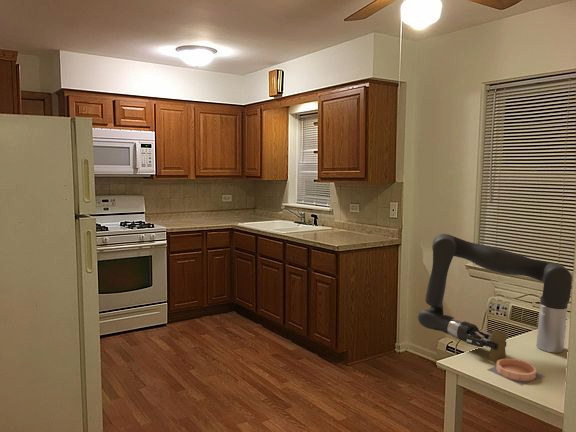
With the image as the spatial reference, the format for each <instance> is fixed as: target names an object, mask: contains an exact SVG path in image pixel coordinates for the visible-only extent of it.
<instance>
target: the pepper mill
mask: <svg viewBox="0 0 576 432" xmlns="http://www.w3.org/2000/svg"><path fill="white" fill-rule="evenodd" d="M491 337H492V339H493V340H492V342H494V343H497V344H498V350H495V349H492V348H489V349H490V350H489V355H488V360H490V361H491V362H493V363H495V364H497V361H498V360H500V359H507V356H506V355H507V351H506V347H505V341H506V342H507V339H508V335H507V333H506V332H505V331H502V330H496V329H495V330H493V331H492V334H491Z"/></svg>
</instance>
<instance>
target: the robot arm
mask: <svg viewBox="0 0 576 432" xmlns="http://www.w3.org/2000/svg"><path fill="white" fill-rule="evenodd" d="M431 248H432V266H431V267H432V268H431V272H430V276H429V280H428V283H427V288H426V293H425V300H424V301H425V303H426V304H427V305H429V306H430V308H429V309H423V310H421V311H419V312H418V315H417V321H418V322H419V324H420V325H421V326H422V327H424V328H426V329H428V330H433V331H439V332H443V333H444V334H447V335H450V336H451V337H453V338H455V339H457V340H460V341H463V342H465V343H466V344H468V345H472V346H476V347H479V348H489V349H491V348H492V349H495V350H498V344H497V343H494V342H492V340H493V339H492V337H491V334H492V332H493V331H492V330H487V332H486V331H484V330H479V327H478V326H477V325H476V324H474V323H472V322H469V321H466V320H463V319H460V318H455V317H454V316H451V315H448V314H444V305H443V301H444V297H445V293H446V286H447V277H448V273H449V270H450V269H449V268H450V265H451V263H452V260H453V258H454V257H457V258H461V259H464V260H467V261H469V262H471V263H473V264H475V265H477V266H479V267H480V268H483V269H486V270H488V271H491V272H495V273H497V274H503V275H509V276H511V275H512V276H522V277H528V278H531V279H534V280H537V281H540V282H543V288H542V289H543V290H542V295H541V296H540V301H539V311H538V312H539V314H538V321H537V322H538V324H537V335H536V346H535V347H537V348H538V349H539V350H542V351H544V352H546V353H547V352H548V353H552V354H553V353H554V354H555V353H556V354H557V353H558V354H559V353H562V352H564V349H565V340H566V329H567V315H568V313H567V312H568V304H569V302H570V299H571V295H572V294H571V293H572V284H573V278H572V277H573V276H572V273H571V272H570V271H569V270H568V269H567V268H566V267H565V266H564V265H563V264H560V263H557V262H554V261H553V262H551V261H545V260H541V259H540V260H539V259H534V258H529V257H527V256H525V255H522V254H519V253H514V252H512V251H508V250H505V249H502V248H498V247H494V246H489V245H485V244H480V243H475V242H470V241H467V240H465V239H461V238H459V237H457V236H453V235H451V234H447V233H440V234H438V235H436V236H435V237H434V238H433V241H432V247H431ZM506 347H507V340H506V341H505V348H506Z"/></svg>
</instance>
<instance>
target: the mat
mask: <svg viewBox="0 0 576 432" xmlns="http://www.w3.org/2000/svg"><path fill="white" fill-rule="evenodd" d="M486 370H487V371H489V372H491V373H493V374H495V375H498V376H500V377H503V378H504V379H506V380H509V381H511V382H513V383H515V384H517V385H518V386H519V385H520V386H524V385H527V384H530V383H531V382H532V383H533V382H534V381H537V380H539V379H542V378H544V377H546V376H545V375H544V374H540V373H538V372H536V377H535V379H534V380H532V381H516V380H512V379H508V378H506V377H504V376H502V375H500V374H499V373H498V372H497V370H496V366H493V367H489V368H488V369H486Z"/></svg>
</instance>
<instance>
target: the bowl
mask: <svg viewBox="0 0 576 432" xmlns="http://www.w3.org/2000/svg"><path fill="white" fill-rule="evenodd" d="M495 365H496V366H495V367H496V370H497V372H498V373H499V374H500V375H502V376H504V377H506V378H508V379H512V380H516V381H532V380H534V379H535V377H536V373H537V367H535V366H534V365H533V364H531V363H529V362H526V361H525V360H523V359H522V360H521V359H517V358H516V359H515V358H506V359H500V360H498V361H497V363H495ZM500 375H499V376H500ZM502 376H501V377H502ZM504 377H503V378H504ZM506 378H505V379H506ZM508 379H507V380H508ZM532 382H533V381H532Z"/></svg>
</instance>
